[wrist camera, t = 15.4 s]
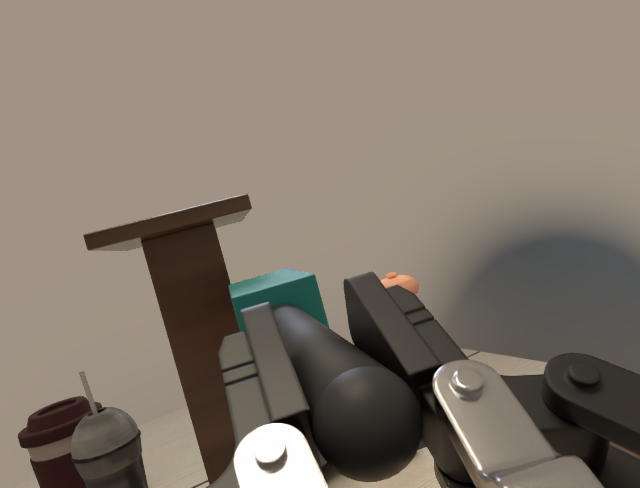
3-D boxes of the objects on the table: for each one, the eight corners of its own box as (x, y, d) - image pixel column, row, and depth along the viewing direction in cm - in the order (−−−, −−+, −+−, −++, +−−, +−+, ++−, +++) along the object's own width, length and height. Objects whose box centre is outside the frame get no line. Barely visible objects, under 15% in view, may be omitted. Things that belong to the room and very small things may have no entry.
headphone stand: (750, 498, 39) (652, 92, 38) (227, 738, 31) (82, 234, 30) (618, 437, 52) (542, 132, 50) (225, 596, 44) (123, 239, 43)
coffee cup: (58, 512, 69) (27, 408, 69) (132, 485, 72) (103, 384, 71) (37, 553, 60) (1, 432, 59) (123, 520, 62) (89, 404, 62)
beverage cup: (118, 575, 51) (62, 386, 50) (90, 556, 56) (39, 384, 55) (180, 531, 56) (131, 359, 55) (150, 517, 61) (104, 359, 60)
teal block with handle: (509, 506, 9) (455, 303, 8) (307, 589, 8) (246, 370, 8) (303, 326, 30) (287, 268, 30) (244, 344, 30) (228, 284, 29)
